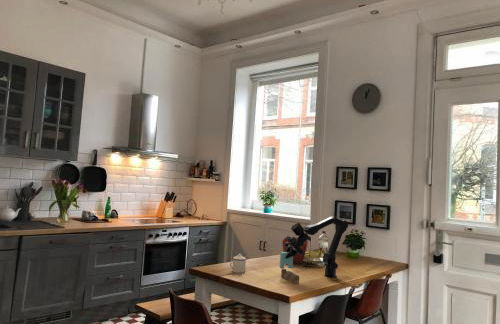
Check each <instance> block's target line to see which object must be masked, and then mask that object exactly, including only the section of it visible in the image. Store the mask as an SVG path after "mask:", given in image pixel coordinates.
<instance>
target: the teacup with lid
mask: <svg viewBox="0 0 500 324" xmlns="http://www.w3.org/2000/svg"><path fill="white" fill-rule="evenodd" d="M246 262H247V258H246V257H244V256H243V255H242V254H241V253H238V254H237V255H236V256H233V258H232V260H231V261H230V263H229V267H230V268H231V269H232V272H233V273H237V274H238V273H239V274H240V273H241V274H242V273H243V274H244V273H245V272H246Z"/></svg>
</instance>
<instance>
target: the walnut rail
mask: <svg viewBox="0 0 500 324" xmlns="http://www.w3.org/2000/svg"><path fill="white" fill-rule="evenodd" d="M280 269H281V268H280ZM280 272H281V273H280V278H283V279H285V280H286V281H288V282H290V283H292V284H293V285H300V275H298V274H296V273H295V272H292V271H290V270H287V269H286V268H284V269H281V271H280Z"/></svg>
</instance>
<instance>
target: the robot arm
mask: <svg viewBox="0 0 500 324" xmlns="http://www.w3.org/2000/svg"><path fill="white" fill-rule="evenodd" d="M330 225H335V232H334V235H333V237H332V240H331V243H330V246H329V249H328V251H327V252H325V251H324V252H323V255H322V262H323V264H324V266H325V268H324V277H328V278H336V277H337V276H338V275H337V269H338V267H339V264H338V263H337V262H336V260H337V258H336V252H337V250H338V247H339V245H340V242H341V239H342V236H343V234H344V233H345V232H346V231H347V230H348V227H349V223H348V221H346V220H344V219H339V218H337V217H335V216H329V217H328V218H325V219H323V220H320V221H318V222H317V223H314V224H313V223H312V224H309V225H306V226H302V225H301V223H300V222H297V223H295V224H293V225H292V226H291V228H290V229H291V231H292V233H293V234H294V235H295V236H296V237H295V236H292V237H291V236H288V235H286V237H285V238H286V241H288V242H290V243H288V242H285V243H284V245H285V247H286V252H289V253H288V254H287V256H286V257H285V258H286V259H287V258H290V257H292V256H295V255H298V254H297V253H298V252H299V255H301V256H302V254H303V250H302V249H301V248H300V247H301V246H304V245H303V244H304V243H305V242H306V241H307V240H308V242H309V241H310V242H311V241H312V236H314V235H316V234H317V233H319V231H320V230H323V229H324V228H326V227H328V226H330ZM296 238H297V239H296Z"/></svg>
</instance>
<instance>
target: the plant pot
mask: <svg viewBox="0 0 500 324" xmlns="http://www.w3.org/2000/svg"><path fill="white" fill-rule="evenodd" d="M286 238H287V237H284V238H283V239H282V241H281V242H282V243H281V244H282V250H283V251H282V252H286V247H285V245H284V243H285V242H288V241H286ZM295 238H296V239H297V238H298V237H295ZM288 243H290V242H288ZM308 243H309V240H307V241H306V242H305V243H304V244H303V245H304V246H301V247H300V248H301V249H302V250H303V254H302V256H301V255H299V252H298V253H297V254H298V255H295V256H293V264H294V263H296V264H302V263H303V262H304V259H305V256H304V255H306V253H307V248H308ZM305 252H306V253H305ZM302 261H303V262H302ZM301 262H302V263H301Z"/></svg>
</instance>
